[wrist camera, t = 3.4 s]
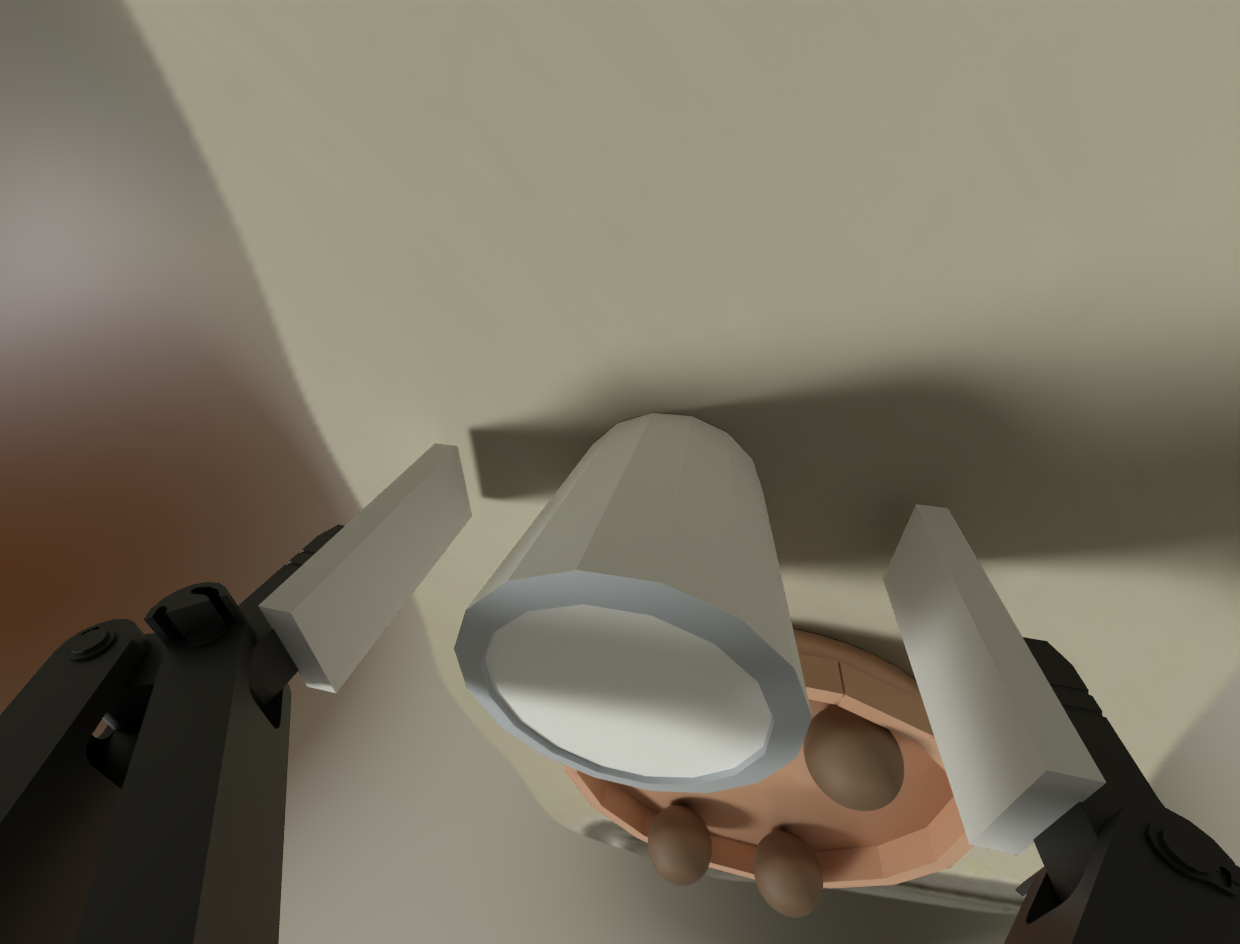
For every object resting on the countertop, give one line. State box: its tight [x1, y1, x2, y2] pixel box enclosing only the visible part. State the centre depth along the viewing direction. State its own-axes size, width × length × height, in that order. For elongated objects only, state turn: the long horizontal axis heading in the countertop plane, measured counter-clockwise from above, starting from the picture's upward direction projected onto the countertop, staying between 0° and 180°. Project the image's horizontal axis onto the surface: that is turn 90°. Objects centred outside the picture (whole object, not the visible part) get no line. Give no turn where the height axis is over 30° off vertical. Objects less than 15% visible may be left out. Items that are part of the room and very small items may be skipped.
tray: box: [564, 629, 974, 888], centre depth 20 cm, size 16×16×2 cm
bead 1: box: [648, 805, 712, 886], centre depth 22 cm, size 3×3×3 cm
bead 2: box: [753, 831, 823, 917], centre depth 22 cm, size 3×3×3 cm
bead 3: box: [803, 706, 904, 811], centre depth 16 cm, size 3×3×3 cm
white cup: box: [454, 413, 812, 793], centre depth 12 cm, size 7×7×7 cm
